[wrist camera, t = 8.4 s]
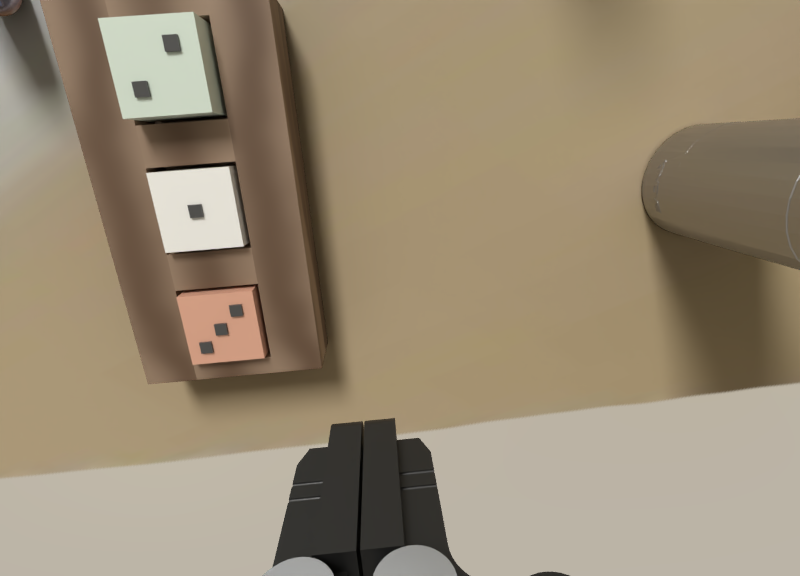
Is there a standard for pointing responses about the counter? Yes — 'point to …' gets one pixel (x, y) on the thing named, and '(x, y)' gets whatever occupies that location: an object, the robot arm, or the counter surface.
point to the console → (198, 148)
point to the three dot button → (224, 324)
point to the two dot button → (163, 66)
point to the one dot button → (199, 208)
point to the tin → (9, 7)
